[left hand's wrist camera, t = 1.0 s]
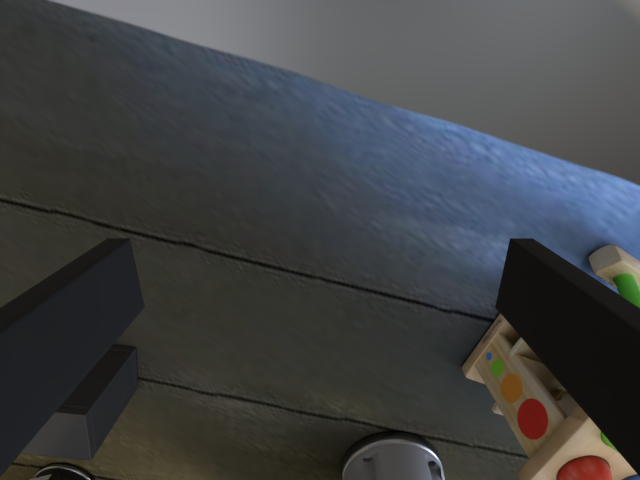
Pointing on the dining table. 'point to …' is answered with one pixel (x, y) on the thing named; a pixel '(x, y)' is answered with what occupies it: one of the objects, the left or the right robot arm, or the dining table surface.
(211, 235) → the dining table surface
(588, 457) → the pounding bench toy
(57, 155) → the dining table surface
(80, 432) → the cabinet
